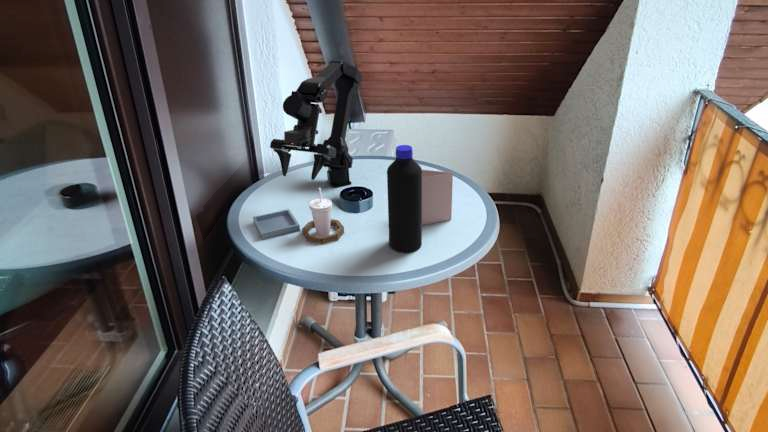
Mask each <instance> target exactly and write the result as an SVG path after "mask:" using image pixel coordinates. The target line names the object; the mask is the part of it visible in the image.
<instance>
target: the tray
mask: <svg viewBox="0 0 768 432" xmlns="http://www.w3.org/2000/svg"><path fill="white" fill-rule="evenodd" d="M291 211H292V210H290V209H289V208H286V209H283V210H278V211H274V212H269V213H265V214H261V215H257V216H256V215H255V216H253V217H252V222H253V225H254V227H255V229H256V231H257V232H258V235H259V236H260V238H261V241H264V240H268V239H272V238H277V237H281V236H285V235H289V234H293V233H298V232H301V227H300V224H299V222H298V220H297V219H296V217H295V216H294V215H293V213H292V212H291Z"/></svg>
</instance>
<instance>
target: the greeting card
mask: <svg viewBox="0 0 768 432" xmlns="http://www.w3.org/2000/svg"><path fill="white" fill-rule="evenodd" d="M453 175H454V172H449V171H437V170H428V169H422V226H424V225H430V224H435V223H440V222H446V221H451V220H452V212H453V211H452V210H453V209H452V208H453V177H454V176H453Z"/></svg>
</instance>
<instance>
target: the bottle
mask: <svg viewBox="0 0 768 432" xmlns="http://www.w3.org/2000/svg"><path fill="white" fill-rule="evenodd" d="M413 152H414V151H413V147H412V146H411V145H408V144H401V145H400V144H399V145H398V146H396V147H395V157H396V158H395V159H394V160H393V161H392V162H391V163H390V164H389V166H388V168H387V170H386V179H387V180H386V182H387V184H386V185H387V208H388V209H387V213H388V245H389V248H390V249H392V250H393V251H395V252H398V253H402V254H403V253H405V254H407V253H413V252H416V251H418V250H419V249H420V248H421V247H422V240H423V238H422V237H423V235H422V234H423V233H422V231H423V230H422V229H423V228H422V227H423V225H422V170H423V169H422V167H421V165H419V163H418V162H417V161H415V159H414V158H413V156H414V155H413Z"/></svg>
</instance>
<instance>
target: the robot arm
mask: <svg viewBox="0 0 768 432" xmlns="http://www.w3.org/2000/svg"><path fill="white" fill-rule="evenodd" d="M362 75H363V74H362V73H361V71H360V70H359V69H358V68H357V67H355V66H353V65H351V64H349V63H348V62H347V61H345V60H344V59H343V60H342V59H341V60H340V59H339V60H338V59H332V60H330V61H329V64H328V65H327V66H326V67H325V68H323V70H322V71H320V72H319V73H318V74H317V75H316V76H314V77H310V78H307V79H304V80H302V81H301V82H300V84H299V86H298V88H297V89H296V90H295V91H291V95H289V96H287V97H286V98H285V99H284V101H283V102H282V109H283V112H284V113H285V114H287V115H288V116H290V117H291V118H293V119H295V120H296V123H297V124H294V126H293V129H292V130H291V129H290V130H287V131H284V132H283V136H284V137H283V139H280V138H279V139H278V138H273V139H272V140H271V141H270V143H269V144H270V145H269V148H270V149H272V150H273V152H274V153H276V154H277V156H278V158H279V161H280V167H281V173H282V176H283V177H287V173H288V170H289V165H290V162H291V157H292V153H290V152H291V151H296V152H304V153H305V152H307V153H313V159H314V160H313V167H312V171H311V180H313V181H314V180H315V179H316V178H317V176H318V175H319V173H320V171H321V170H322V169H323V168H324V167H325V168H327V170H326V175H327V176H326V178H327V183H329V184H330V185H331V187H332V188H338V187H344V186H349V185H352V181H350V170H349V169H351V168H353V161H354V158H353V157H352V156H351V155H350V153H349V147H348V144H347V141H346V137H347V131H348V125H349V119H350V112H351V106H352V101H353V97H354V96H355V95H356V93H357V92H358V91H359V89H360V85H361V82H362V80H363V76H362ZM333 84H334V86H335V89H336V91H337V96H336V102H335V106H334V107H335V108H334V113H333V120H332V126H331V132H330V136H329V137H328V139H324V141H323V143H317V144H315V140H316V135H318V134H319V130H317V129H318V124H319V123H318V122H319V118H320V117H319V115H320V114H322V113H323V111H322V108H321V107H320V104H319V103H323V102H324V101H326V99H327V97H328V95H329V91H328V89H330V87H331V86H333Z"/></svg>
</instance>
